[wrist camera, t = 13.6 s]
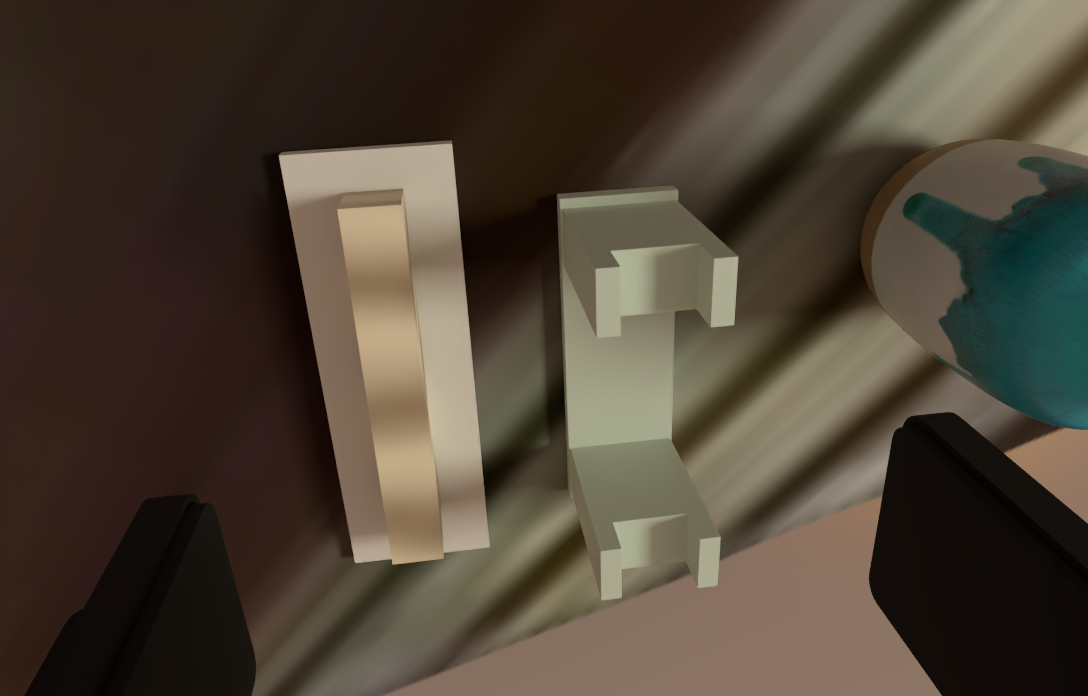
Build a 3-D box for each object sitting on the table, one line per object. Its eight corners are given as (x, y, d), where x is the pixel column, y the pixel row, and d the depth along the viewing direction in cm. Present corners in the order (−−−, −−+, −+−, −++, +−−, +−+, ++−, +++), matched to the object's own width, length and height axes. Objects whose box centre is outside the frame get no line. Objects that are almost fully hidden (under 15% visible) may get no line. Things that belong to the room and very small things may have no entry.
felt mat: (281, 152, 37) (278, 155, 36) (451, 140, 38) (451, 143, 37) (356, 554, 48) (355, 563, 47) (488, 538, 48) (489, 547, 48)
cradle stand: (556, 193, 40) (593, 256, 31) (672, 185, 40) (741, 244, 31) (568, 489, 47) (599, 608, 38) (665, 478, 48) (718, 593, 39)
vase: (891, 345, 46) (1165, 564, 29) (791, 220, 42) (1040, 388, 25) (1047, 220, 44) (1444, 376, 27) (958, 75, 40) (1358, 148, 23)
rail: (343, 192, 38) (337, 209, 35) (403, 188, 38) (401, 204, 35) (395, 530, 46) (392, 564, 43) (443, 524, 46) (443, 558, 44)
